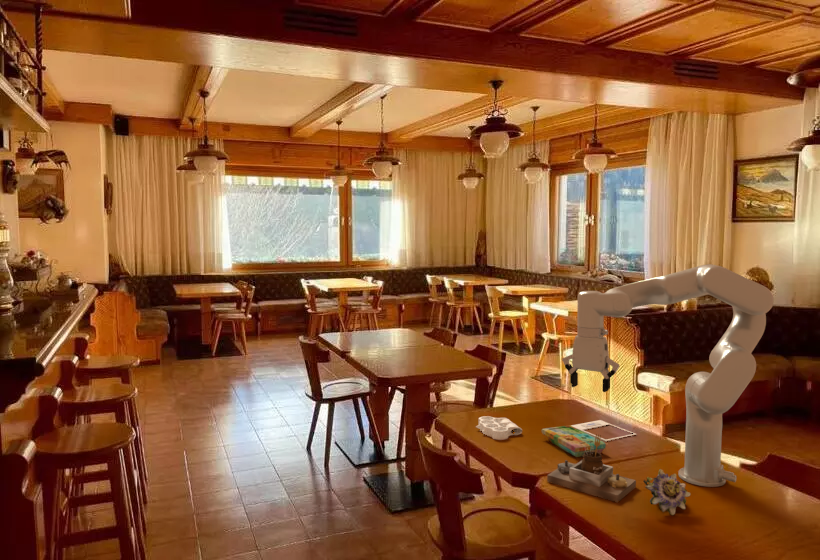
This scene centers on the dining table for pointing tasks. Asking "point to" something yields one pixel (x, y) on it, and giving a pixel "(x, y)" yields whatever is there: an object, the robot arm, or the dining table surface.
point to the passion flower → (667, 492)
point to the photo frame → (595, 425)
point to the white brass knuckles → (497, 427)
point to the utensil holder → (593, 459)
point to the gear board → (592, 481)
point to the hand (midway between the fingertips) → (589, 388)
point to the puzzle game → (572, 440)
